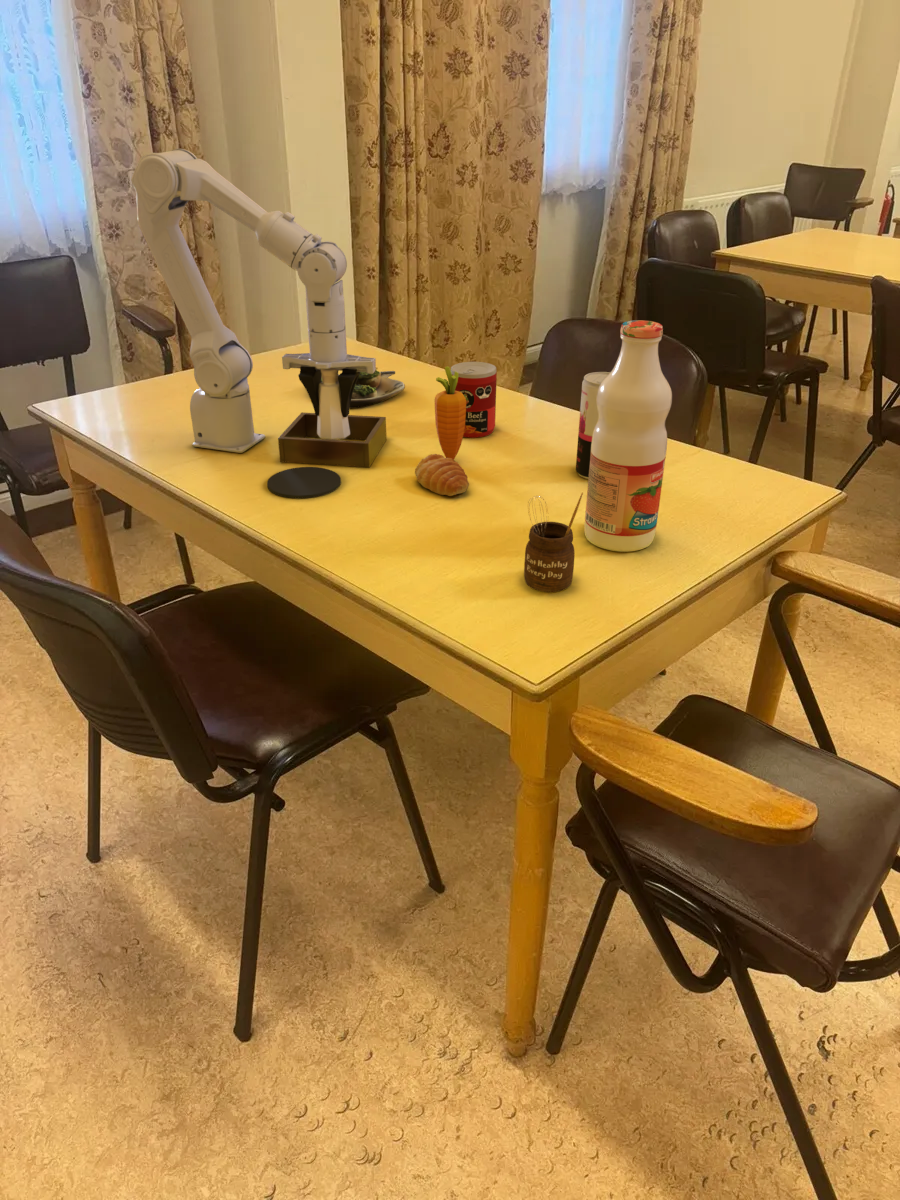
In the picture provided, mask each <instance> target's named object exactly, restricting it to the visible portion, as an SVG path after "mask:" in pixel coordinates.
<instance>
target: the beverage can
mask: <svg viewBox="0 0 900 1200" xmlns="http://www.w3.org/2000/svg"><path fill="white" fill-rule="evenodd" d="M610 372H611V371H609V372H607V371H595V372H589V373H587V374H585V375H584V376H583V380H582V382H581V383H582V384H581V395H580V408H579V422H578V434H577V446H576V447H577V449H576V461H575V472H576V473H577V474H578V475H579V476H580V477H581V478H583V479H585V480H588V479H589V468H590V456H591V444H592V437H593V432H594V428H595V426H596V424H597V422H598V420H599V413H598V408H597V393H598V389H599V386H600V384H601V383H602V381H603V380H604V379H605V378H606V376H607V375H608V374H609V373H610Z"/></svg>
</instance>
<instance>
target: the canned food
mask: <svg viewBox="0 0 900 1200" xmlns="http://www.w3.org/2000/svg"><path fill="white" fill-rule="evenodd" d="M450 370H451V373H452V376H453V375H454V374H455V372H458V373H459V374H458V382H457V385H456V388H455V391H459V392H461V393H462V394H463V395H464V397H465V399H466V418H465V429H464V434H463V438H466V439H467V438H468V439H471V438H472V439H476V438H484V437H487V436H490V435H491V434H492V433H493V432H494V430H495V428H496V410H497V409H496V407H497V406H496V405H497V382H498V381H497V378H498V377H497V376H498V374H497V372H498V371H497V366H496V365H494V364H492V363H489V362H484V361H463V362H459V363H456V364H454V365H452V366H451V367H450Z"/></svg>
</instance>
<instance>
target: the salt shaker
mask: <svg viewBox="0 0 900 1200" xmlns="http://www.w3.org/2000/svg"><path fill="white" fill-rule="evenodd" d="M321 373H322V374H321V375H322V382H321V383H320V384H319V390H318V398H319V416H318V419H317V434H318V436H319V437H318V438H319V439H327V440H345V439H344V438H346V437H347V436H349V435H350V429H349V423H348V416H347V417H343V416H342V413H341V393H340V387H339V382H338V376H339V375H340V373H339V371H338V370H337V369H334V368H329V369H321Z"/></svg>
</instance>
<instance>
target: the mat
mask: <svg viewBox="0 0 900 1200" xmlns="http://www.w3.org/2000/svg"><path fill="white" fill-rule="evenodd" d="M341 484H342V479H341V476H340V475H339V473H337V472H336V471H335V470H331V469H329V468H325V467H324V468H323V467H318V466H299V467H292V468H287V469H284V470H281V471H278V472H276V473H274V474H272V475H271V476H270V477H269V478H268V479H267V482H266V487H267V489H268V491H270V492H271V494H273V495H275V496H279V497H282V498H286V499H287V498H288V499H312V498H318V497H322V496H326V495H328V494H330V493H334V492H335V491H336V490H337V489H339V487H340V486H341Z"/></svg>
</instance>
